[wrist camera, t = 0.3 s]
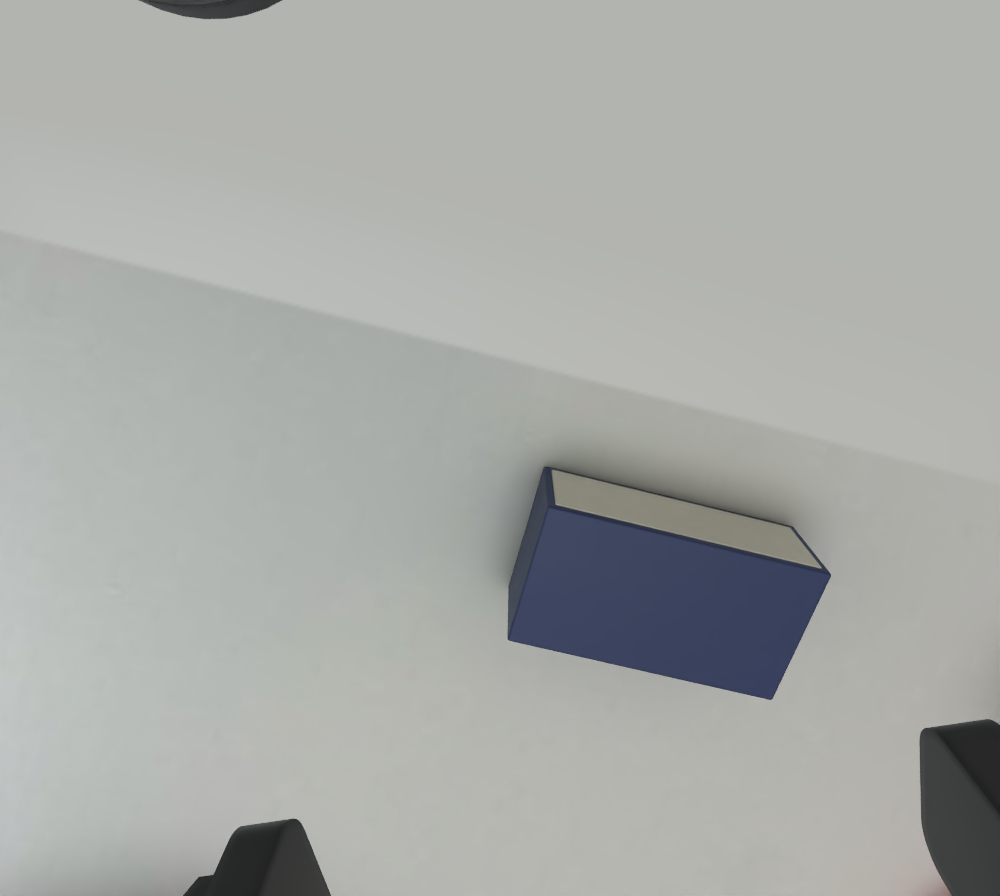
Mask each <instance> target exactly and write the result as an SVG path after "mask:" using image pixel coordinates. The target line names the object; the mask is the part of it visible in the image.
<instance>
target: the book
mask: <svg viewBox="0 0 1000 896" xmlns="http://www.w3.org/2000/svg"><path fill="white" fill-rule="evenodd" d="M830 577H831V574H830V572H829V571H828V570H827V569H826V567H825V566H824V565H823V564H822V563H821V561H820V560H819V559H818V558H817V556H816V555H815V554H814V553H813V551H812V550H811V549H810V548H809V546H808V545H807V544H806V543H805V541H804V540H803V539H802V538H801V536H800V535H799V534H798V533H797V531H796V530H795V529H794V528H793V527H790V526H786V525H782V524H778V523H774V522H770V521H766V520H762V519H757V518H753V517H749V516H745V515H741V514H737V513H733V512H729V511H725V510H721V509H716V508H712V507H708V506H704V505H700V504H696V503H692V502H688V501H684V500H680V499H675V498H671V497H667V496H663V495H659V494H655V493H651V492H647V491H643V490H639V489H634V488H630V487H626V486H622V485H618V484H614V483H610V482H606V481H602V480H598V479H593V478H589V477H585V476H581V475H577V474H573V473H569V472H565V471H561V470H557V469H552V468H548V467H544V469H543V472H542V476H541V479H540V482H539V486H538V489H537V492H536V496H535V499H534V503H533V506H532V509H531V513H530V516H529V520H528V523H527V526H526V530H525V533H524V536H523V540H522V543H521V547H520V550H519V553H518V557H517V560H516V564H515V567H514V570H513V574H512V577H511V580H510V584H509V598H508V640H509V641H513V642H518V643H522V644H527V645H531V646H535V647H540V648H544V649H549V650H553V651H557V652H562V653H566V654H571V655H575V656H580V657H584V658H588V659H593V660H597V661H602V662H606V663H610V664H615V665H619V666H624V667H628V668H632V669H637V670H641V671H646V672H650V673H654V674H659V675H663V676H668V677H672V678H676V679H681V680H685V681H690V682H694V683H698V684H703V685H707V686H712V687H716V688H720V689H725V690H729V691H734V692H738V693H742V694H747V695H751V696H756V697H760V698H765V699H769V700H772V699H773V697H774V694H775V692H776V690H777V688H778V686H779V684H780V682H781V680H782V678H783V676H784V673H785V671H786V669H787V667H788V665H789V663H790V661H791V659H792V657H793V655H794V652H795V650H796V648H797V646H798V644H799V642H800V640H801V638H802V636H803V634H804V631H805V629H806V627H807V625H808V623H809V621H810V619H811V617H812V615H813V613H814V610H815V608H816V606H817V604H818V602H819V600H820V598H821V596H822V594H823V592H824V589H825V587H826V585H827V583H828V581H829V579H830Z"/></svg>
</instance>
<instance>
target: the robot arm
mask: <svg viewBox="0 0 1000 896" xmlns="http://www.w3.org/2000/svg"><path fill="white" fill-rule="evenodd" d="M920 781H921V820H922V828H923V832H924V837H925V840H926V844H927V846H928V849H929V852H930V855H931V857H932V860H933V862H934V864H935V866H936V868H937V870H938V872H939V874H940V876H941V878H942V880H943V881H944V883H945V885H946V886H947V888H948V890H949V891H950V893H951V894H952V896H1000V725H999V724H998V723H996V722H994V721H992V720H989V719H986V720H979V721H972V722H965V723H958V724H952V725H945V726H938V727H931V728H924V729H923V730H922V732H921V735H920ZM183 896H331V895H330V892H329V890H328V887H327V885H326V882H325V880H324V877H323V875H322V872H321V870H320V867H319V865H318V862H317V860H316V857H315V855H314V852H313V850H312V847H311V845H310V842H309V840H308V837H307V835H306V832H305V830H304V828H303V826H302V824H301V823H300V822H299V821H298V820H297V819H288V820H281V821H275V822H268V823H261V824H254V825H247V826H241V827H239V828H238V829H237V830H235V832H234V833H233V834H232V836H231V838H230V840H229V842H228V844H227V846H226V848H225V851H224V853H223V855H222V857H221V860H220V862H219V864H218V866H217V868H216V871H215V873H214V875H210V876H203V877H198V879H197V880H196V881H195V882H194V883H193V885H192V886H191V887H190V888H189V889H188V891H187V892H186V893H185V894H184V895H183Z"/></svg>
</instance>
